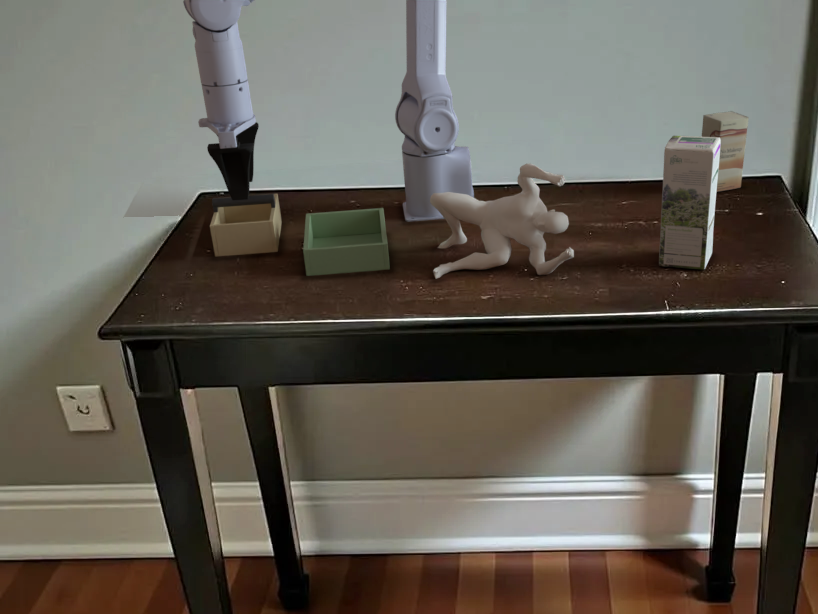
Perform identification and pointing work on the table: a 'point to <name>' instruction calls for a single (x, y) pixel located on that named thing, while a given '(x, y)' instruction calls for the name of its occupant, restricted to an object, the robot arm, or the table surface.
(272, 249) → the cream bin
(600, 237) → the table surface
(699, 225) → the syrup box
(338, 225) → the sage bin
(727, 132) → the makeup remover box
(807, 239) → the table surface
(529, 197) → the person figurine
